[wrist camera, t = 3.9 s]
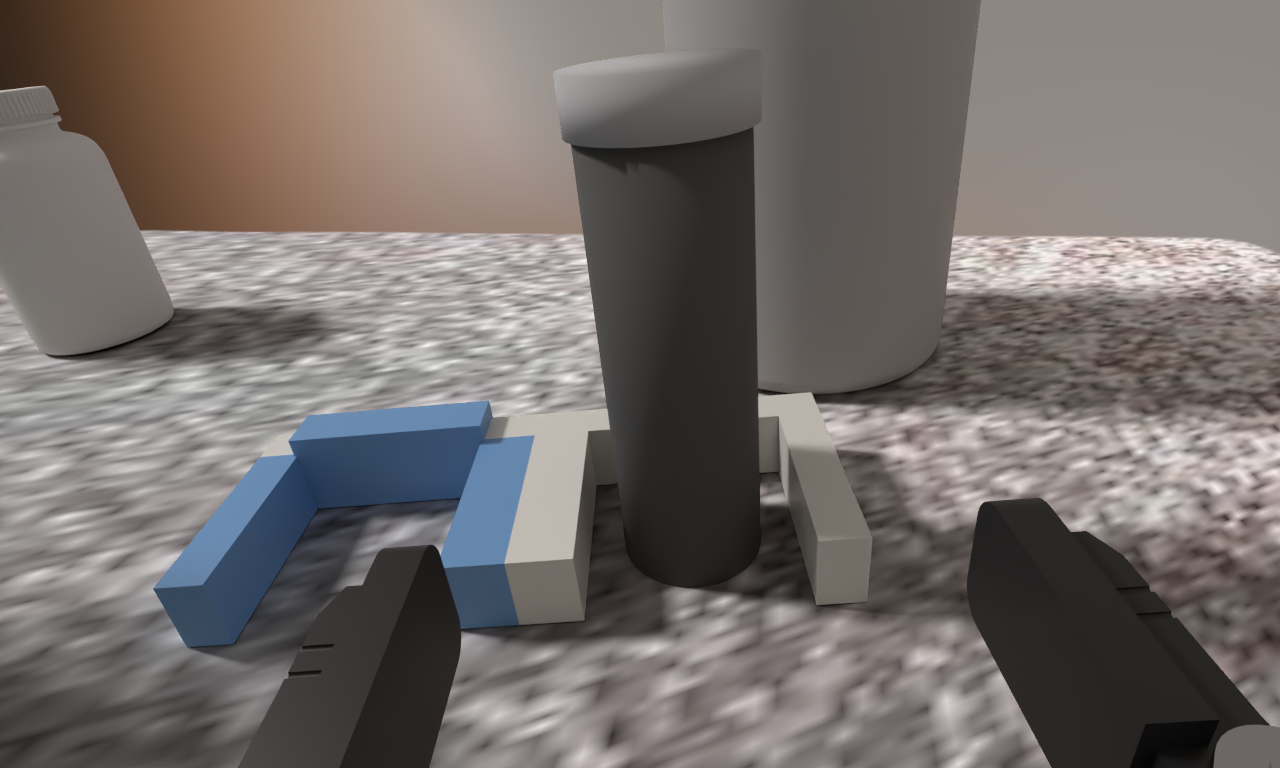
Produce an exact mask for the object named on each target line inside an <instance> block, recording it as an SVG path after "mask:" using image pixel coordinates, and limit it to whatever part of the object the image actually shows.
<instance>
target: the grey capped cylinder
mask: <svg viewBox="0 0 1280 768" xmlns="http://www.w3.org/2000/svg"><path fill="white" fill-rule="evenodd" d="M553 77H554V84H555V91H556V98H557V105H558V112H559V119H560V126H561V133H562V139H563V141H565V142H566V143H569V144H571V147H572V154H573V162H574V169H575V176H576V183H577V191H578V198H579V206H580V213H581V220H582V227H583V235H584V242H585V249H586V257H587V264H588V271H589V279H590V286H591V293H592V300H593V308H594V315H595V322H596V330H597V337H598V344H599V352H600V359H601V366H602V374H603V381H604V388H605V395H606V403H607V410H608V417H609V425H610V432H611V439H612V447H613V454H614V461H615V468H616V476H617V483H618V490H619V498H620V505H621V512H622V520H623V527H624V534H625V542H626V549H627V552H628V555H629V557H630V559H631V561H632V562H633V564H634V565H635V566H636V567H637V568H638V569H639V570H640V571H641V572H642V573H644V574H645V575H647V576H649V577H650V578H652V579H654V580H657V581H659V582H662V583H665V584H669V585H674V586H682V587H699V586H707V585H712V584H716V583H719V582H722V581H725V580H728V579H730V578H732V577H734V576H736V575H737V574H739V573H740V572H742V571H743V570H744V569H746V568H747V567H748V566H749V565H750V564H751V563H752V561H753V560H754V558H755V557H756V555H757V553H758V551H759V547H760V540H761V531H760V472H759V413H758V355H757V296H756V237H755V178H754V126H756V125H757V124H759V123H760V122H761V120H762V99H761V51H759V50H755V49H742V48H725V49H701V50H686V51H674V52H663V53H653V54H644V55H636V56H628V57H620V58H613V59H606V60H600V61H594V62H589V63H583V64H579V65H574V66H569V67H566V68H562V69H559V70H557V71H555V72H553Z"/></svg>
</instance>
